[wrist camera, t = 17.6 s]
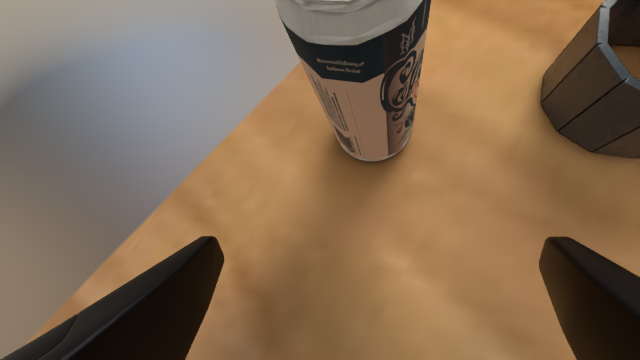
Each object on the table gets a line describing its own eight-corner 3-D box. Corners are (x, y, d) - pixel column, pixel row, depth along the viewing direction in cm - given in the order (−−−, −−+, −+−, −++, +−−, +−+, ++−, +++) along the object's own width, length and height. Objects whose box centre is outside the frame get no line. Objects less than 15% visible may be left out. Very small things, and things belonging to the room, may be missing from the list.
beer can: (416, 159, 18) (456, -10, 7) (339, 168, 19) (260, 35, 8) (407, 90, 19) (426, -150, 8) (335, 102, 20) (262, -95, 9)
